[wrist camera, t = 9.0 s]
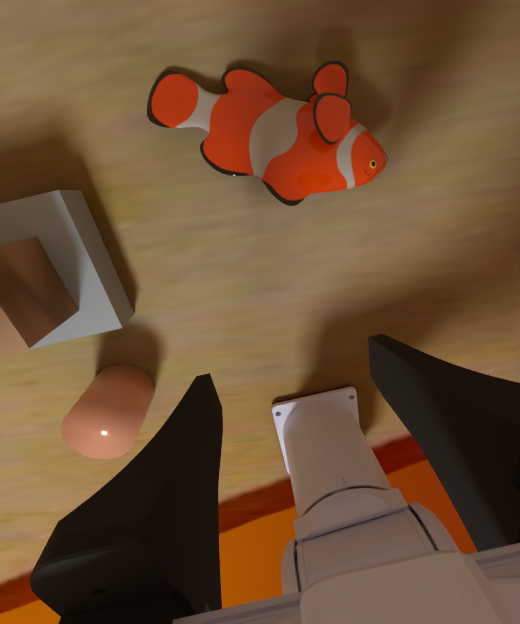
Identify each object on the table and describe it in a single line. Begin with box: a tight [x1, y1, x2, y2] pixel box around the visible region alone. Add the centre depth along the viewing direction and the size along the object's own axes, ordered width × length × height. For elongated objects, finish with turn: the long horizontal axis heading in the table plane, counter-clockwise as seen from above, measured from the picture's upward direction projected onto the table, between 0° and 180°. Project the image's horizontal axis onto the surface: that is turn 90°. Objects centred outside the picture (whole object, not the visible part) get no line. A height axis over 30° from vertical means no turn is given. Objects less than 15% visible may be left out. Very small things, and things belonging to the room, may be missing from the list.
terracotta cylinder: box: [61, 364, 154, 459], centre depth 22 cm, size 5×5×5 cm
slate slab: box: [0, 190, 134, 351], centre depth 19 cm, size 9×9×3 cm
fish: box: [147, 61, 388, 206], centre depth 15 cm, size 13×5×9 cm
